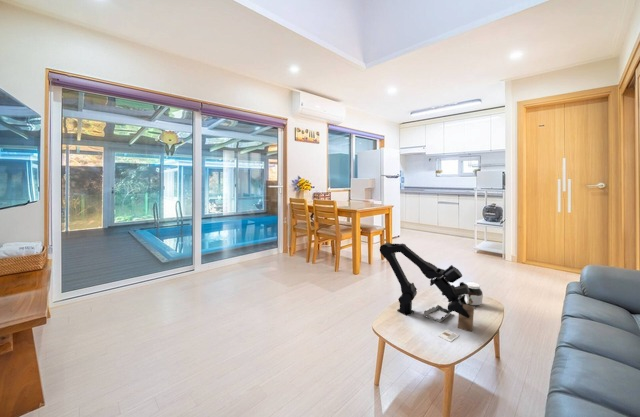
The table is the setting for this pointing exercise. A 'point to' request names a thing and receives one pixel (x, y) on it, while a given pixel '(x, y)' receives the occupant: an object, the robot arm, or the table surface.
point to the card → (448, 335)
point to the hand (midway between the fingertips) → (469, 314)
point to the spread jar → (474, 294)
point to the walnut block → (464, 321)
